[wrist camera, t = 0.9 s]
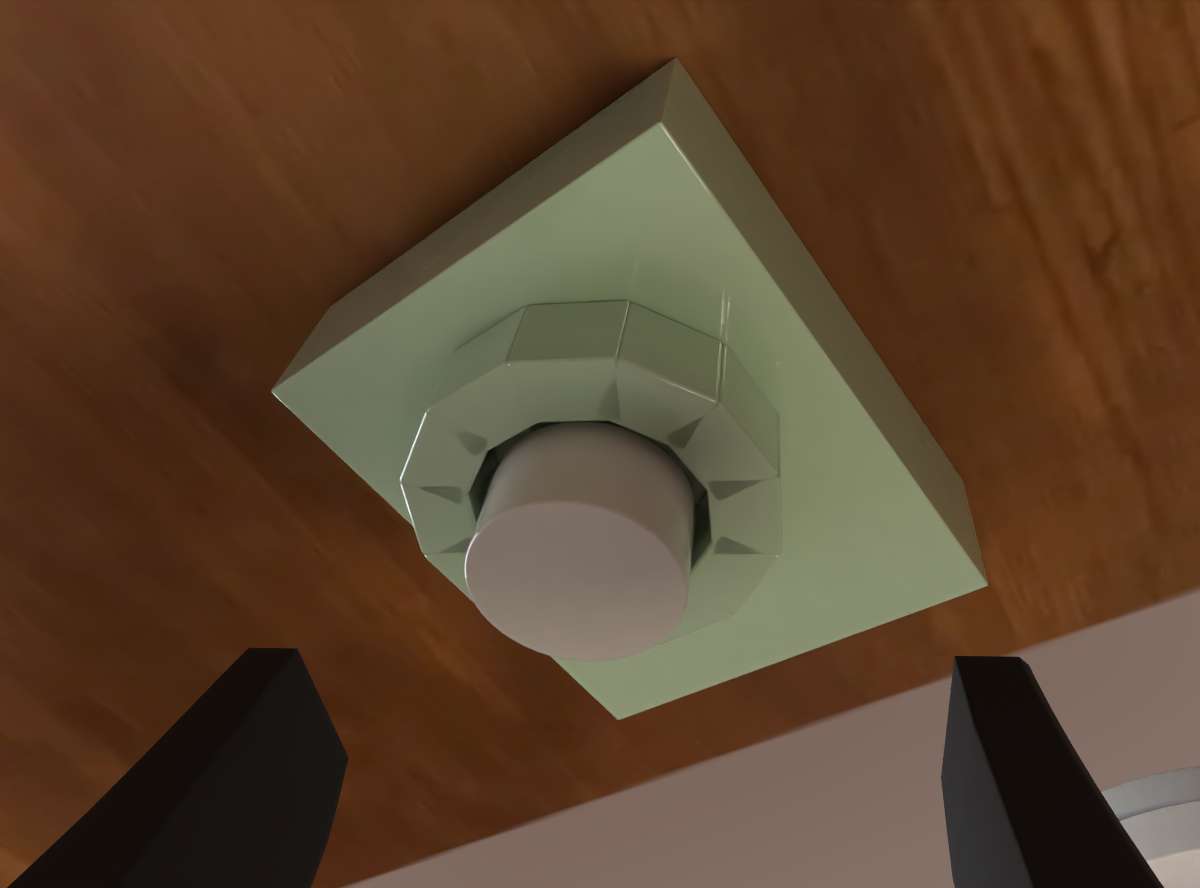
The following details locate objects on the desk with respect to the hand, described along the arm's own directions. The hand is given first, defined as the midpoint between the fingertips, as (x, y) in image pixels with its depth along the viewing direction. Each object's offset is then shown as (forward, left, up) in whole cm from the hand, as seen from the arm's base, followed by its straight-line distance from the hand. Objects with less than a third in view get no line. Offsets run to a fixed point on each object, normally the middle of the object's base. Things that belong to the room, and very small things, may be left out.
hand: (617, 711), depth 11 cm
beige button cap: (-1, +2, -6) cm, 7 cm away
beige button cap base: (-2, +2, -11) cm, 11 cm away
